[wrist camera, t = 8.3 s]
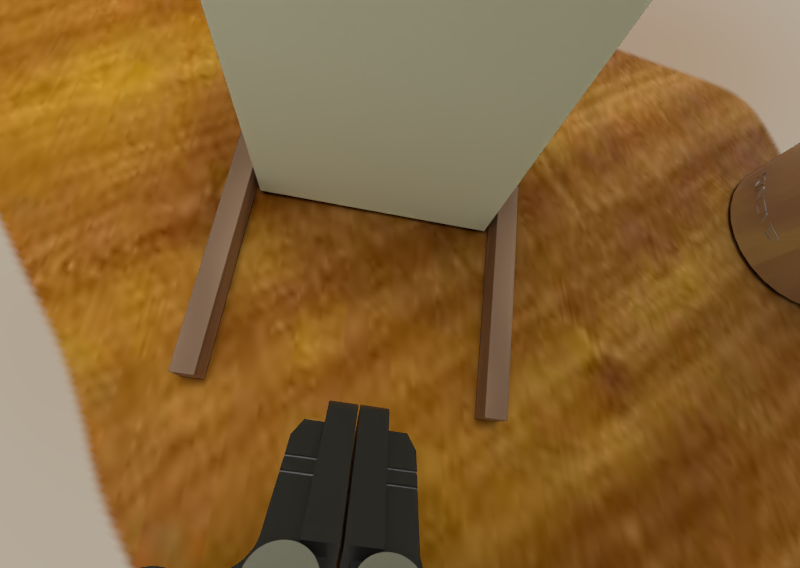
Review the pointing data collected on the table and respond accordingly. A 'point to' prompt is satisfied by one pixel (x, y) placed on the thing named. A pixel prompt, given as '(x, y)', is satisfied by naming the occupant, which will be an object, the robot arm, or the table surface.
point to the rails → (224, 254)
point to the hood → (409, 94)
